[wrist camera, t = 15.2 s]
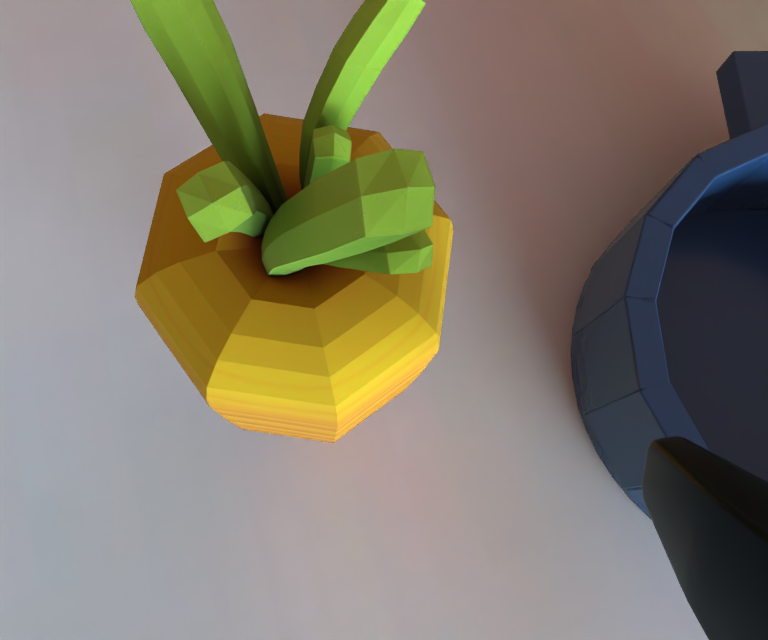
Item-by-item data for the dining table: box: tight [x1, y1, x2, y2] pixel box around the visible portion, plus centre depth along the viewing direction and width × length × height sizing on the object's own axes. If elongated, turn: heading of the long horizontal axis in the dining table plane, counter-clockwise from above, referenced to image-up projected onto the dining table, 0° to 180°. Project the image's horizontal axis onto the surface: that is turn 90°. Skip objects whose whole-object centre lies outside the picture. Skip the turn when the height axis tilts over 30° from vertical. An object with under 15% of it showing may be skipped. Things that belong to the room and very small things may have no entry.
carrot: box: [130, 0, 453, 443], centre depth 14 cm, size 5×5×15 cm
